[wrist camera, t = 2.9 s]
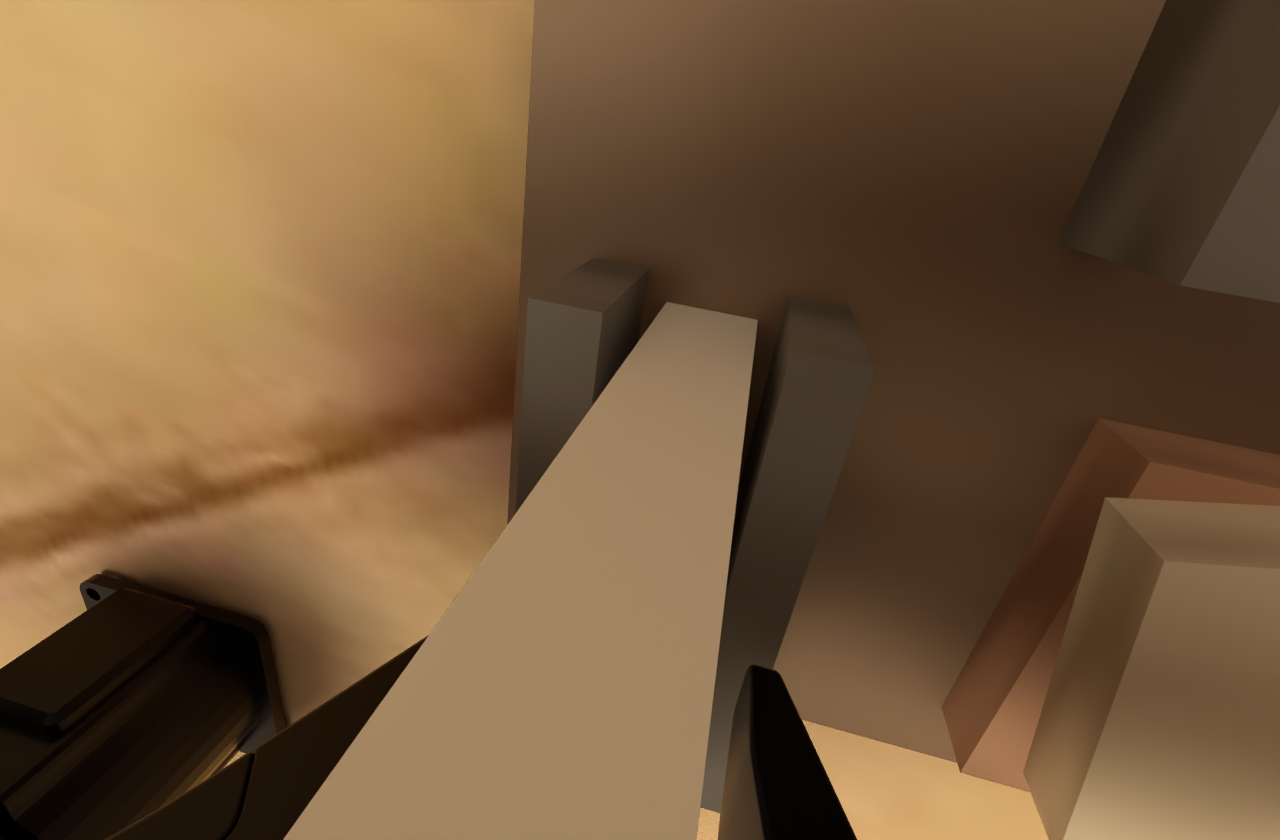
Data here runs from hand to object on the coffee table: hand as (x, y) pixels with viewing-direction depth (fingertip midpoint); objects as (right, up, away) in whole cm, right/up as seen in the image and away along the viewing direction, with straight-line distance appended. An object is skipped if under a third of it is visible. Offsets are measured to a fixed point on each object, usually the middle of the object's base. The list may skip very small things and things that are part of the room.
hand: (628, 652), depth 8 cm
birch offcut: (+9, -1, +1) cm, 9 cm away
